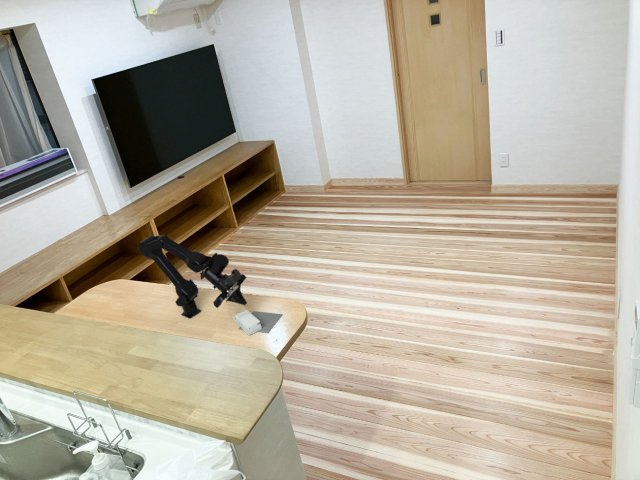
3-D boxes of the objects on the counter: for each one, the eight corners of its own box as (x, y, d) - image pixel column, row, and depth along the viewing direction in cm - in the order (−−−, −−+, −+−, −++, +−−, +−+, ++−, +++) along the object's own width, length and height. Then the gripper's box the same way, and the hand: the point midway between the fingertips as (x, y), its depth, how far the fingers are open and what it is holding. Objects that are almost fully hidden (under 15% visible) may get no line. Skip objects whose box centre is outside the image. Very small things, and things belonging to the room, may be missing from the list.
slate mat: (238, 329, 211) (238, 328, 211) (254, 311, 221) (254, 310, 221) (268, 333, 205) (267, 332, 205) (282, 314, 215) (282, 314, 215)
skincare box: (235, 323, 214) (248, 336, 205) (233, 314, 212) (246, 327, 203) (248, 317, 217) (262, 330, 208) (246, 308, 215) (260, 320, 206)
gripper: (212, 279, 199) (242, 306, 199) (237, 256, 214) (266, 281, 214) (200, 295, 206) (230, 321, 206) (226, 271, 221) (253, 296, 221)
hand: (245, 304), depth 212 cm, fingers closed
